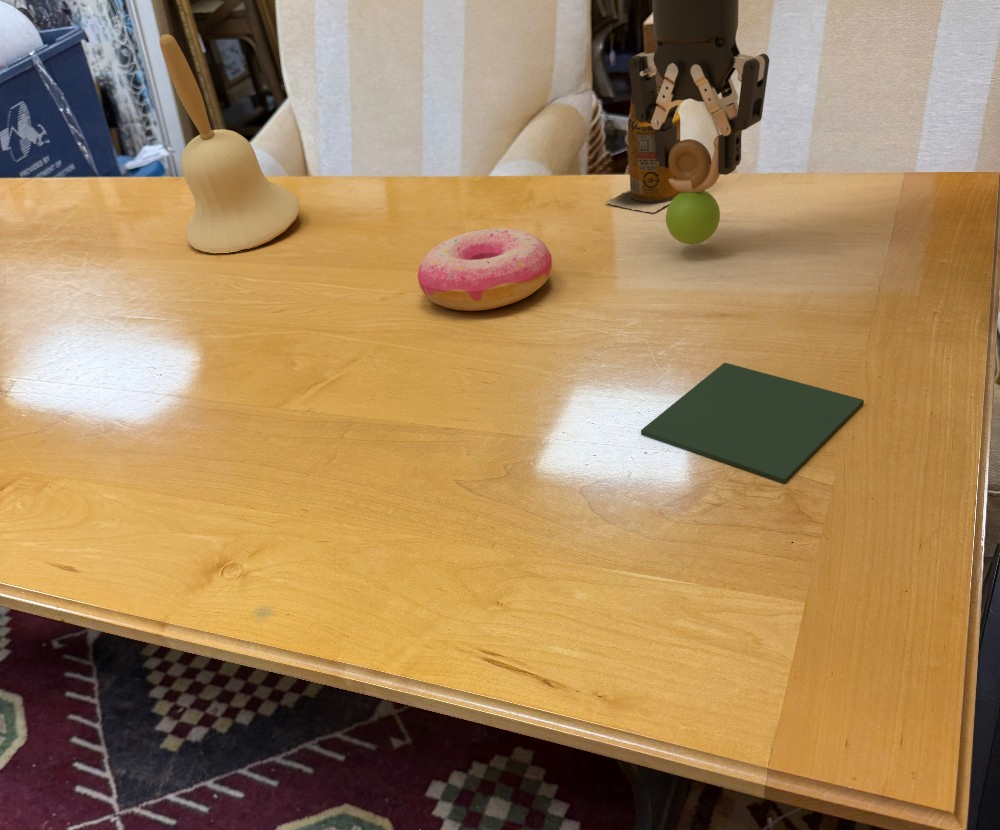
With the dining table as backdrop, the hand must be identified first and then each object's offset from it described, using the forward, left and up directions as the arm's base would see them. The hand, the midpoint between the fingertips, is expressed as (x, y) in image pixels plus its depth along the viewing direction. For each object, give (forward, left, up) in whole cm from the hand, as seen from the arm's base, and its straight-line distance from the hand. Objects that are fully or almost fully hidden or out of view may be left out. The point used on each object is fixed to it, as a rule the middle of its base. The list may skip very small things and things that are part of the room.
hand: (697, 168), depth 90 cm
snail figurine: (0, 0, -8) cm, 8 cm away
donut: (+17, -14, -9) cm, 24 cm away
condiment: (-12, -14, -9) cm, 21 cm away
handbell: (+18, -57, -9) cm, 61 cm away
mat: (+25, +21, -9) cm, 34 cm away
